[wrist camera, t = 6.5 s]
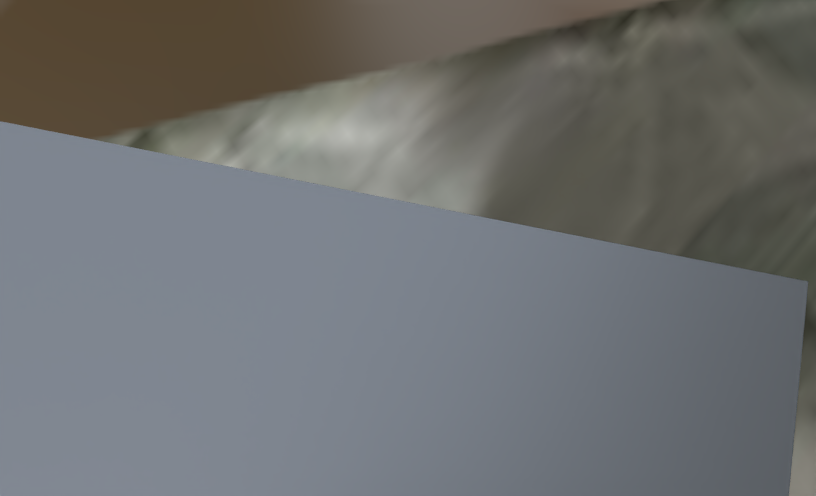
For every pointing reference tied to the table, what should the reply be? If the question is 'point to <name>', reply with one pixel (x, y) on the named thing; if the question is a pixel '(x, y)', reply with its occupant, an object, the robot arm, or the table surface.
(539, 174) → the table surface
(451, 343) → the pillar
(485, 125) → the table surface
